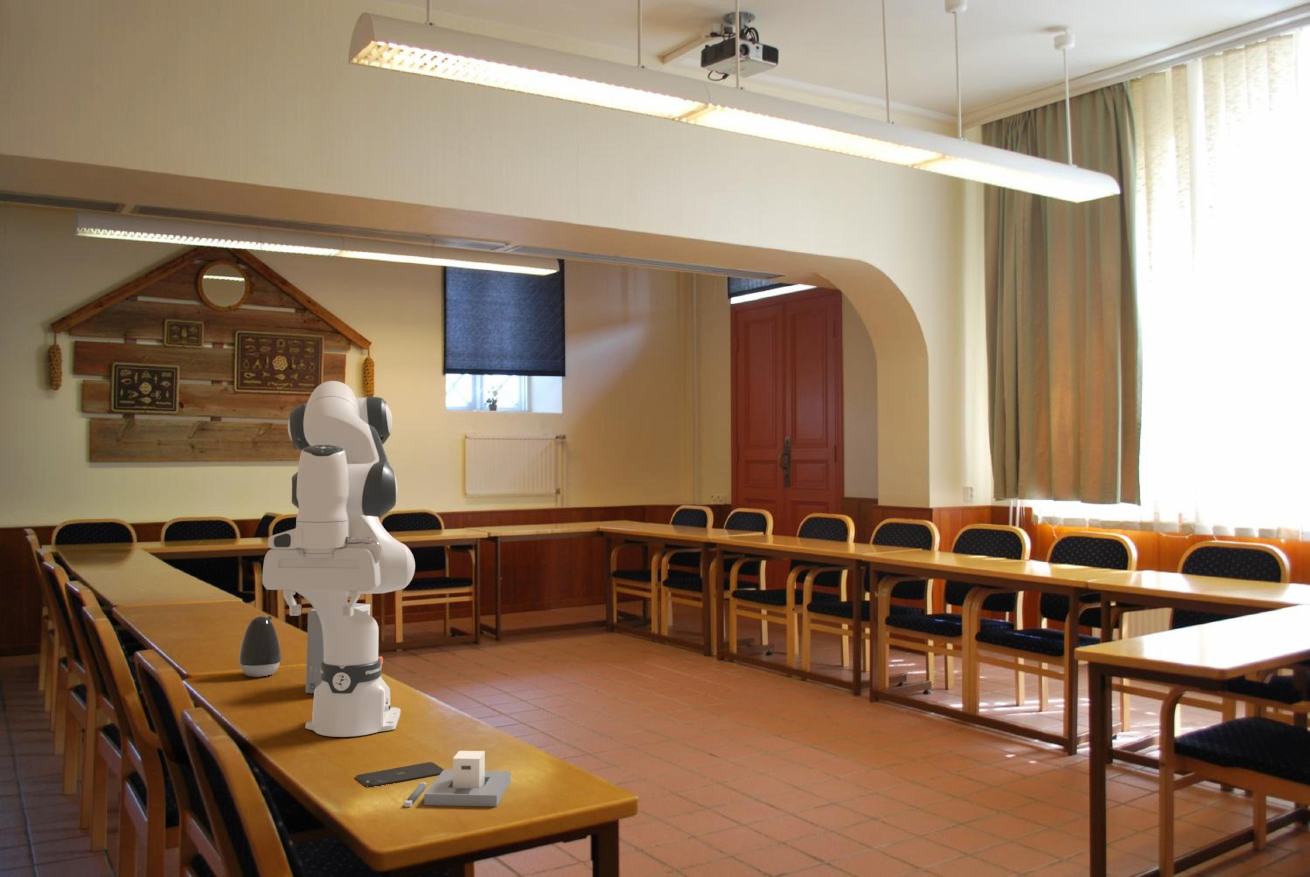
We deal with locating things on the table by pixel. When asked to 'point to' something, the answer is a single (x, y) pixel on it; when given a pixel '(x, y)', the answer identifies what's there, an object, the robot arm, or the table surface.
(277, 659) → the grey egg on base
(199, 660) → the table surface
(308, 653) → the hard drive box
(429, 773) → the smartphone
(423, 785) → the bar
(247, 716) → the table surface
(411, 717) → the table surface
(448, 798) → the plate
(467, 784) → the brick
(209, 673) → the table surface
